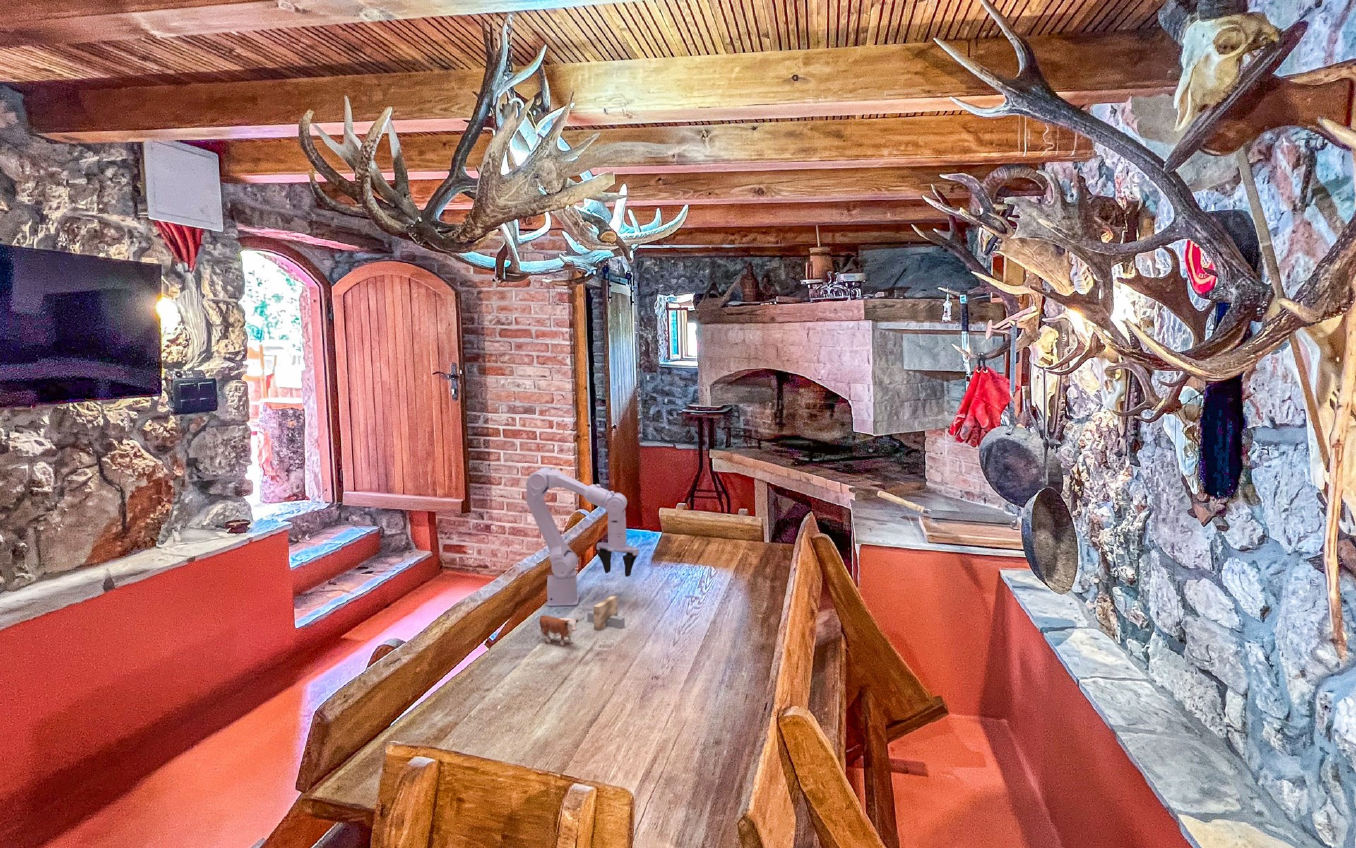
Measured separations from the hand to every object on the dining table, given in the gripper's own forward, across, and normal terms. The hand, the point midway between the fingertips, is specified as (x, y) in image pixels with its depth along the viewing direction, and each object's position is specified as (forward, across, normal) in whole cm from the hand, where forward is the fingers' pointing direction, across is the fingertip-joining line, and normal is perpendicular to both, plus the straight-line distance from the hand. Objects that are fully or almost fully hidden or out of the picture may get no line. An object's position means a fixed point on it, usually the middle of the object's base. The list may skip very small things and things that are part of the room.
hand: (617, 574), depth 239 cm
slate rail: (+10, +5, -15) cm, 19 cm away
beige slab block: (+10, +5, -15) cm, 19 cm away
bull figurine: (+10, +2, -33) cm, 34 cm away
